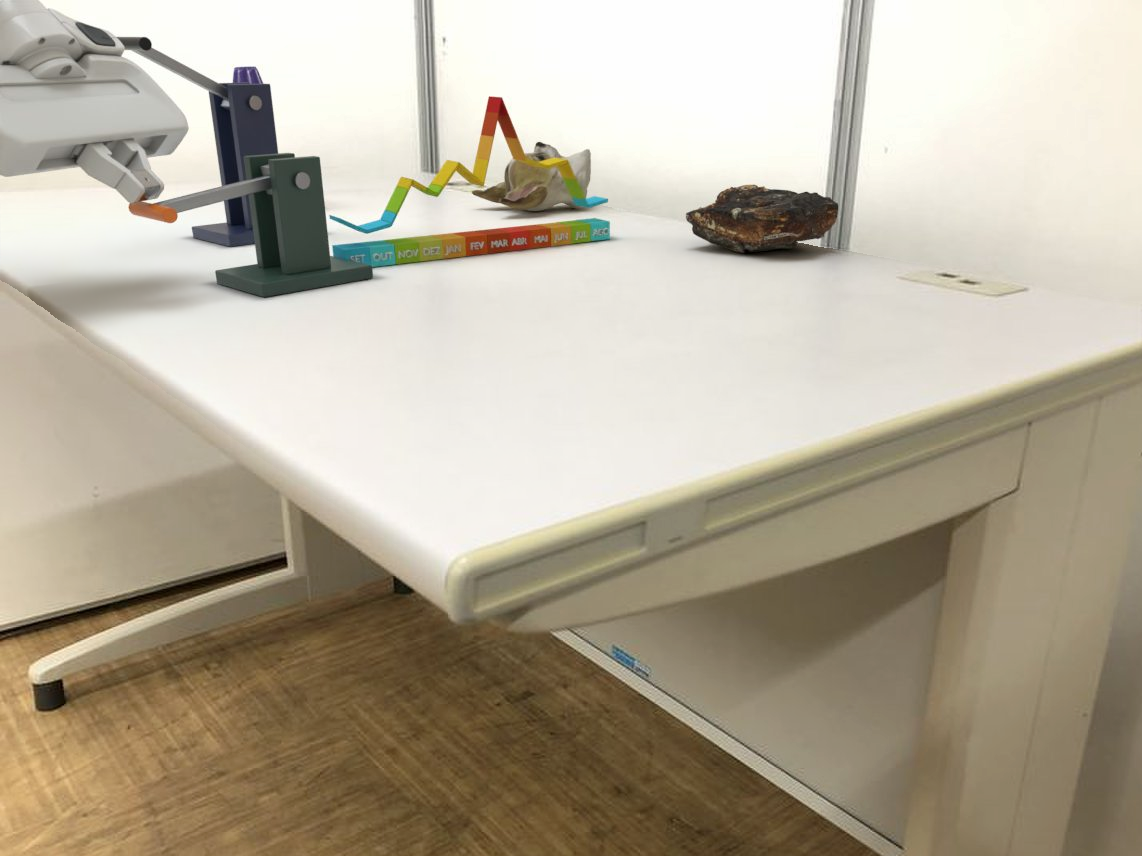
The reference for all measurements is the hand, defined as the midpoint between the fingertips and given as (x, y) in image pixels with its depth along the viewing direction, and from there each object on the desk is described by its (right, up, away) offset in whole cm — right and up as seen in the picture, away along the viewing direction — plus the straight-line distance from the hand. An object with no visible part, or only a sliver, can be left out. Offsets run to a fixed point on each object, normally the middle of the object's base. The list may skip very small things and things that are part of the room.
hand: (149, 195), depth 84 cm
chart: (+22, +1, +26) cm, 34 cm away
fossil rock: (+51, +2, +29) cm, 59 cm away
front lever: (+4, 0, +5) cm, 7 cm away
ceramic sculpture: (+26, +12, +53) cm, 60 cm away
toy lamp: (-15, +18, +66) cm, 70 cm away
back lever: (-7, +17, +24) cm, 30 cm away
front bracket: (+8, -5, +12) cm, 15 cm away
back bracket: (-3, +5, +33) cm, 34 cm away
